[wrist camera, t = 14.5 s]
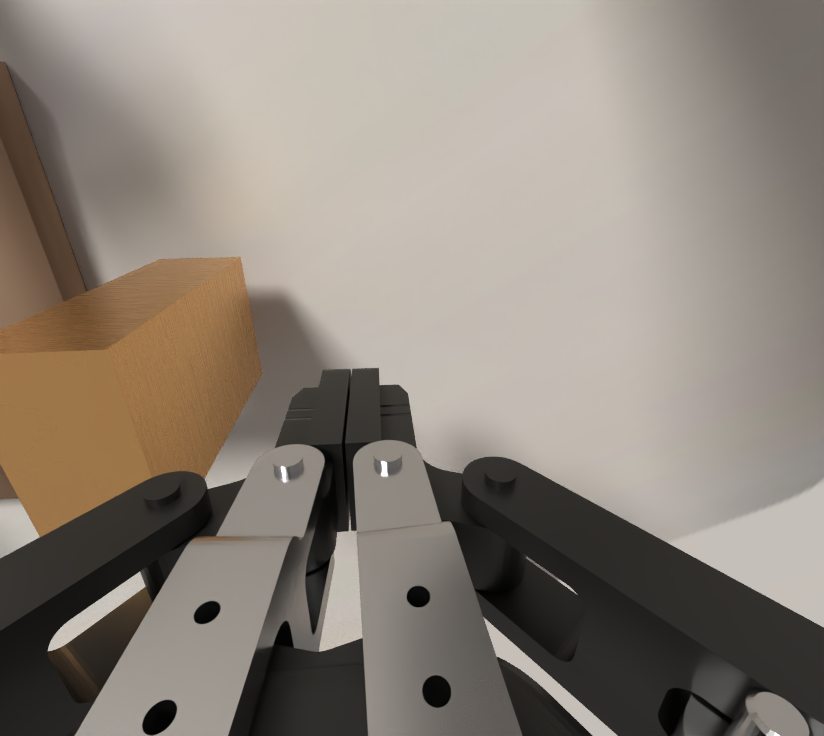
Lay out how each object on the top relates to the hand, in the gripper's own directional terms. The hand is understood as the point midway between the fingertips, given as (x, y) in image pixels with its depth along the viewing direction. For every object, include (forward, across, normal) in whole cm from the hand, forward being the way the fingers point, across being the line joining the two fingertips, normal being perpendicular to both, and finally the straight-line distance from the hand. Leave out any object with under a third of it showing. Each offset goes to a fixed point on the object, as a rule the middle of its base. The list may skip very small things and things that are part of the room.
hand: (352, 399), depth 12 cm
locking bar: (+7, +12, 0) cm, 14 cm away
